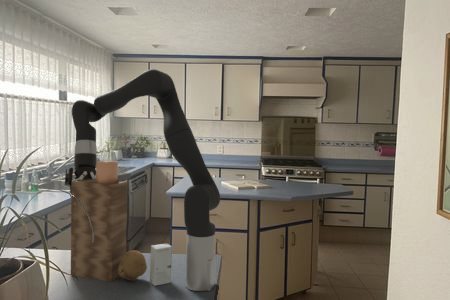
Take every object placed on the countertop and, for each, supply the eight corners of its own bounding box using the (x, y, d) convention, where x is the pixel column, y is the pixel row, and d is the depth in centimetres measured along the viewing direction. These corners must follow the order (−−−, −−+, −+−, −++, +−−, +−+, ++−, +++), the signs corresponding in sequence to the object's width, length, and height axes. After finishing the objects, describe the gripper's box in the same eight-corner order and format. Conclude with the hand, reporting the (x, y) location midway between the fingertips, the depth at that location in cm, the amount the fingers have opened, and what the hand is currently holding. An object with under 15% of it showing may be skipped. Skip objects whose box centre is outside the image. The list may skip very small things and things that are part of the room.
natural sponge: (152, 278, 118) (153, 249, 118) (133, 288, 111) (134, 257, 110) (132, 272, 123) (133, 244, 122) (113, 281, 115) (113, 252, 115)
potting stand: (125, 272, 123) (127, 181, 122) (111, 281, 115) (112, 184, 113) (87, 266, 128) (88, 178, 126) (70, 274, 120) (71, 181, 118)
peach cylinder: (135, 178, 130) (135, 159, 129) (109, 184, 114) (110, 163, 114) (118, 177, 132) (119, 158, 131) (91, 182, 116) (91, 161, 116)
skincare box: (154, 286, 113) (155, 249, 112) (149, 281, 116) (149, 245, 116) (171, 282, 116) (172, 246, 115) (166, 277, 120) (167, 242, 119)
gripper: (74, 149, 120) (72, 197, 117) (108, 155, 132) (108, 198, 128) (61, 153, 124) (59, 199, 121) (95, 158, 136) (95, 200, 132)
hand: (84, 198), depth 124 cm, fingers open, 8 cm apart
